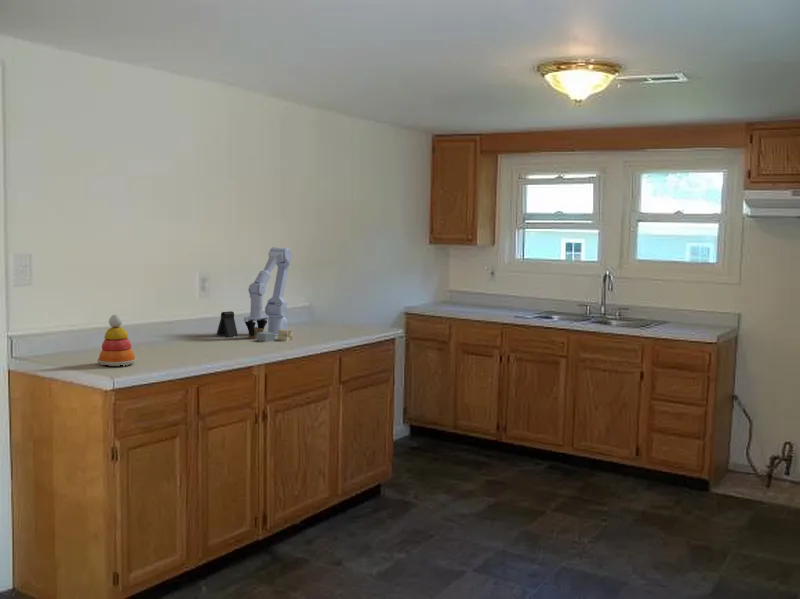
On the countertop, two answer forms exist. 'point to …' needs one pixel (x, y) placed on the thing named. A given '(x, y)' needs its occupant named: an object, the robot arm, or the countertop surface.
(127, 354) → the stacking toy
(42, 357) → the countertop surface
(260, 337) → the grey base block
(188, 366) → the countertop surface
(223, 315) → the phone stand
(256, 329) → the walnut cube
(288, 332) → the maple cube
